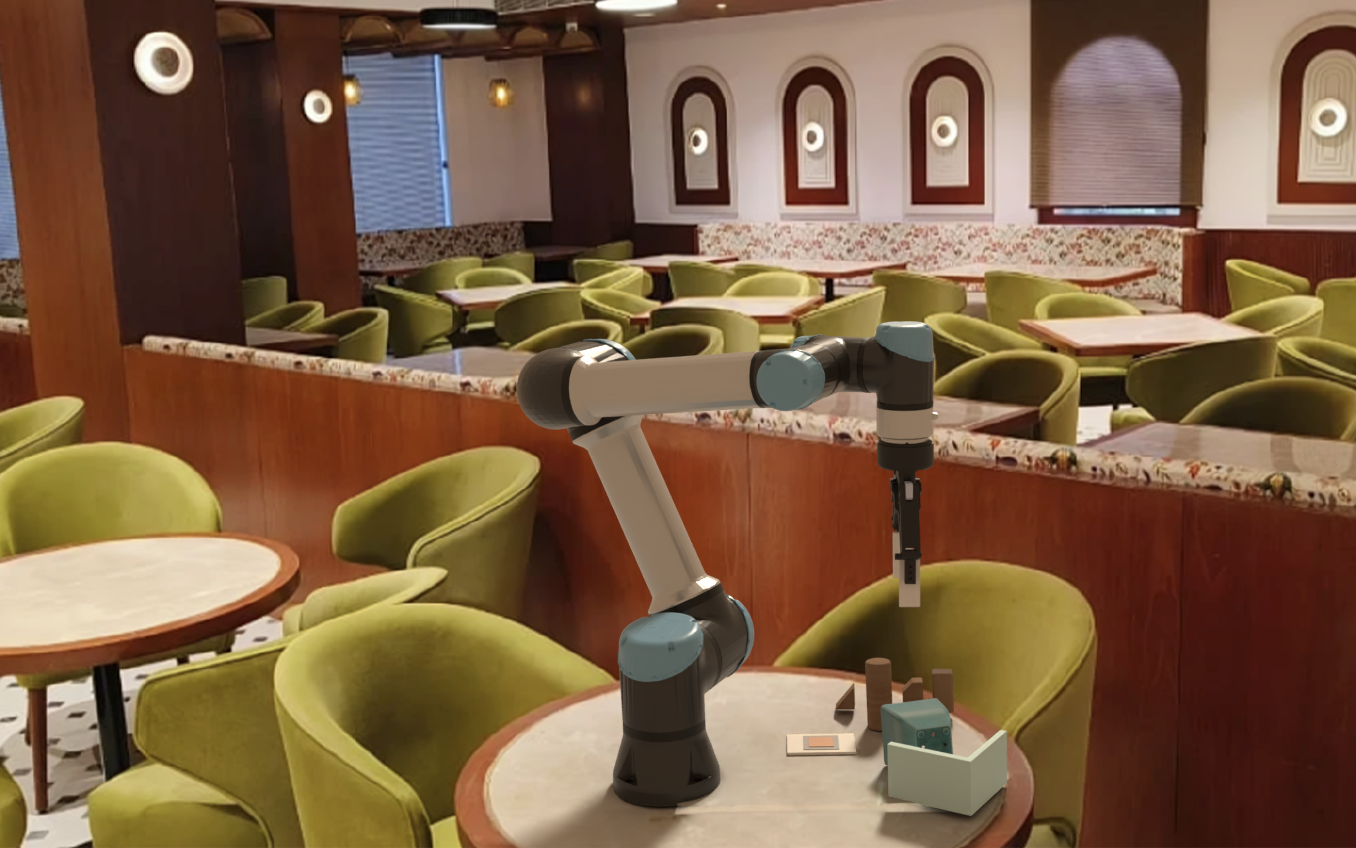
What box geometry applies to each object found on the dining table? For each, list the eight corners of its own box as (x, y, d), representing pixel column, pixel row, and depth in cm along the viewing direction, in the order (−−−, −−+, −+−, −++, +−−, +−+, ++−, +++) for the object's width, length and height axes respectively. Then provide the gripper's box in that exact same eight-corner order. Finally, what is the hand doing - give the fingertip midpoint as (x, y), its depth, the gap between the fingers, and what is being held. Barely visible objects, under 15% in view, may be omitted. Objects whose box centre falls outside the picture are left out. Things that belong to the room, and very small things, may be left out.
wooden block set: (953, 714, 226) (950, 649, 225) (955, 731, 217) (953, 663, 216) (836, 715, 228) (833, 650, 228) (834, 732, 220) (831, 665, 219)
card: (787, 755, 212) (787, 751, 212) (787, 737, 219) (786, 733, 219) (856, 754, 212) (856, 750, 212) (853, 735, 219) (853, 732, 219)
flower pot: (905, 783, 199) (883, 765, 207) (966, 774, 200) (942, 758, 209) (901, 719, 198) (879, 704, 207) (962, 711, 200) (938, 697, 209)
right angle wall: (1006, 782, 200) (1006, 731, 199) (971, 816, 191) (970, 761, 189) (926, 765, 207) (926, 715, 206) (888, 796, 197) (887, 744, 196)
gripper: (942, 456, 182) (942, 619, 186) (926, 421, 207) (926, 565, 210) (881, 457, 183) (883, 619, 187) (872, 422, 207) (874, 566, 211)
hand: (906, 591), depth 198 cm, fingers open, 13 cm apart
